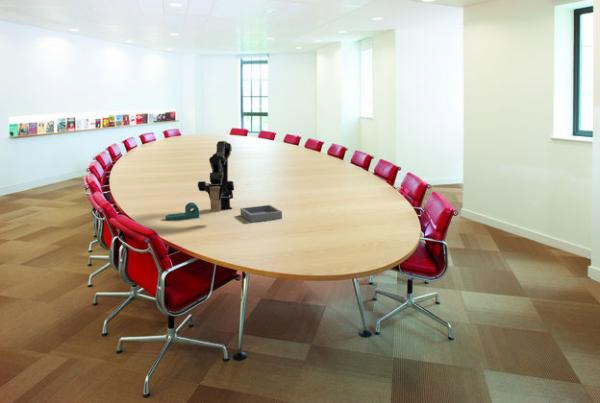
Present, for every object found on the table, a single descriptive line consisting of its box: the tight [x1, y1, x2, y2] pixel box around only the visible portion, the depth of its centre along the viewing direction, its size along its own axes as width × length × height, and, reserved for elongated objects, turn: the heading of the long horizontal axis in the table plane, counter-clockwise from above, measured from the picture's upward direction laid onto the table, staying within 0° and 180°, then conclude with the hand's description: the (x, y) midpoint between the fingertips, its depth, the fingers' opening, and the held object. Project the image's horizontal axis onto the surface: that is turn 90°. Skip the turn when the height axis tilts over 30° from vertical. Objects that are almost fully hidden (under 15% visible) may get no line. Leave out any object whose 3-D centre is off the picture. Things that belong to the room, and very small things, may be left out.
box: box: [239, 204, 283, 224], centre depth 270 cm, size 18×18×4 cm
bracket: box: [164, 202, 200, 222], centre depth 269 cm, size 18×7×8 cm, turn 109°
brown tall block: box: [209, 186, 221, 213], centre depth 255 cm, size 4×4×13 cm
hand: (214, 199), depth 253 cm, fingers closed on brown tall block, 4 cm apart
